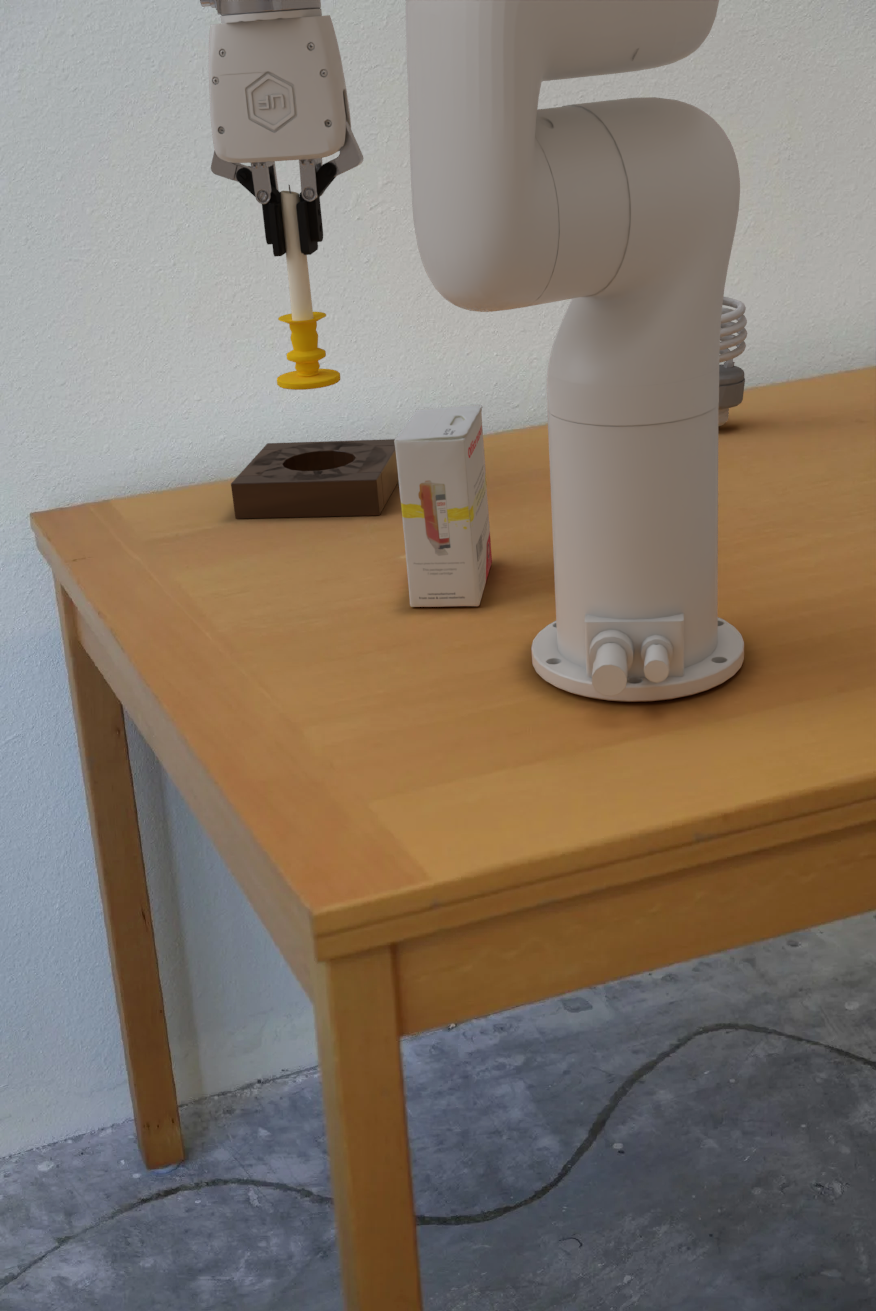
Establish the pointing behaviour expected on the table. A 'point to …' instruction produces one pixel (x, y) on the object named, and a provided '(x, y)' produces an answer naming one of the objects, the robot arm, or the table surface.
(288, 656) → the table surface
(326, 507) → the holder
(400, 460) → the ink box
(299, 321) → the candle
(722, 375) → the light bulb
